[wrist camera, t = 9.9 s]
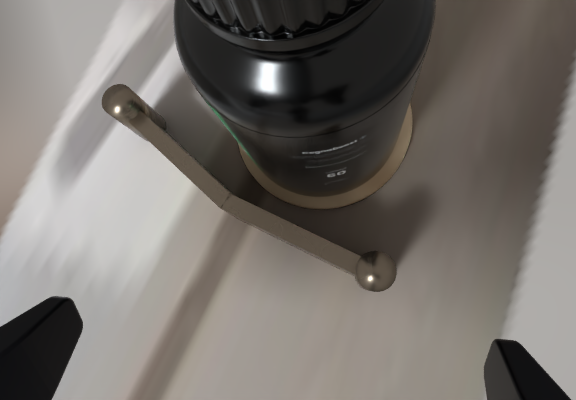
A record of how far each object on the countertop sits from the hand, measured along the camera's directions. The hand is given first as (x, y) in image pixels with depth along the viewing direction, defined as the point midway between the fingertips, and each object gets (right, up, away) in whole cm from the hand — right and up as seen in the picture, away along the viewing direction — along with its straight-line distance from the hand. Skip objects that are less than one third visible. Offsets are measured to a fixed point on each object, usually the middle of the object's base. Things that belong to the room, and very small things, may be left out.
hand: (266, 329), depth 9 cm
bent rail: (-1, +3, +10) cm, 11 cm away
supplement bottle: (+2, +6, +10) cm, 12 cm away
